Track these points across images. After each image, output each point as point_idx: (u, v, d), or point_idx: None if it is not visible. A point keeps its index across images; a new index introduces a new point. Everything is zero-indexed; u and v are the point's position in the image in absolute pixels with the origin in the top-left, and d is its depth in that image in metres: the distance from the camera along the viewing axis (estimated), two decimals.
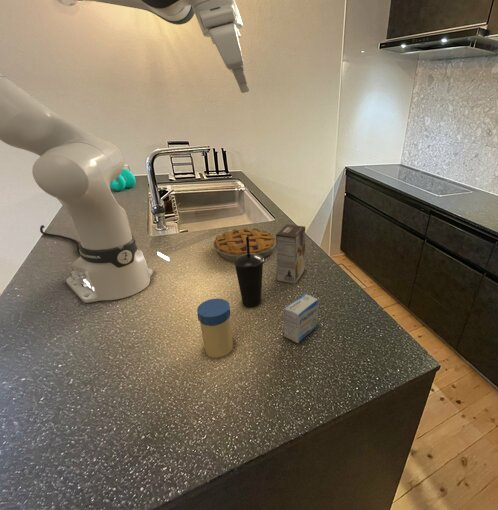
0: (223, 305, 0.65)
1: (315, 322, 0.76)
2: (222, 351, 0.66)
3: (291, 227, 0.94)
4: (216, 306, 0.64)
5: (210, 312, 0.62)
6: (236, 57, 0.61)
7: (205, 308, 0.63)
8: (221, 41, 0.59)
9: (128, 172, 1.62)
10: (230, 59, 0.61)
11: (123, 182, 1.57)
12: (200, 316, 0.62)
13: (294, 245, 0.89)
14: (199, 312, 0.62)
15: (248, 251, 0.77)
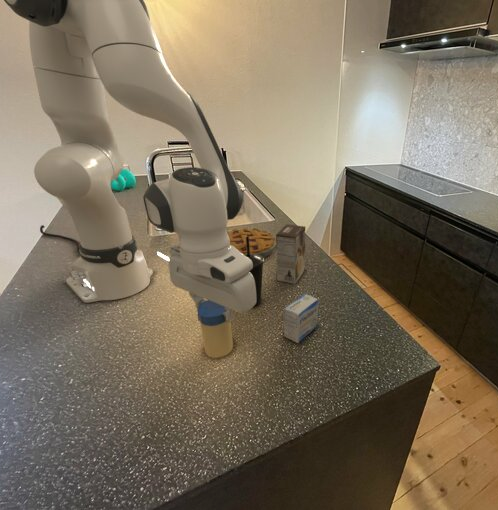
0: None
1: (315, 322, 0.76)
2: (222, 351, 0.66)
3: (291, 227, 0.94)
4: (216, 306, 0.64)
5: (210, 312, 0.62)
6: (253, 303, 0.59)
7: (205, 308, 0.63)
8: (245, 293, 0.56)
9: (128, 172, 1.62)
10: (249, 306, 0.58)
11: (123, 182, 1.57)
12: (200, 316, 0.62)
13: (294, 245, 0.89)
14: (199, 312, 0.62)
15: (248, 251, 0.77)
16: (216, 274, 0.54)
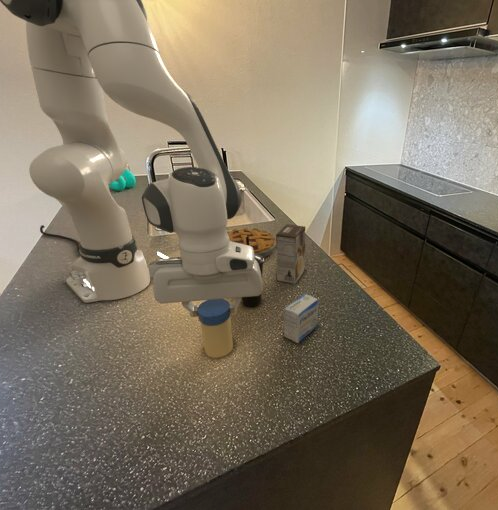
0: (220, 302, 0.65)
1: (315, 322, 0.76)
2: (222, 351, 0.66)
3: (291, 227, 0.94)
4: (215, 305, 0.64)
5: (217, 311, 0.63)
6: None
7: (207, 311, 0.63)
8: (260, 275, 0.62)
9: (128, 172, 1.62)
10: (262, 287, 0.64)
11: (123, 182, 1.57)
12: (209, 319, 0.61)
13: (294, 245, 0.89)
14: (206, 315, 0.61)
15: None
16: (236, 265, 0.57)
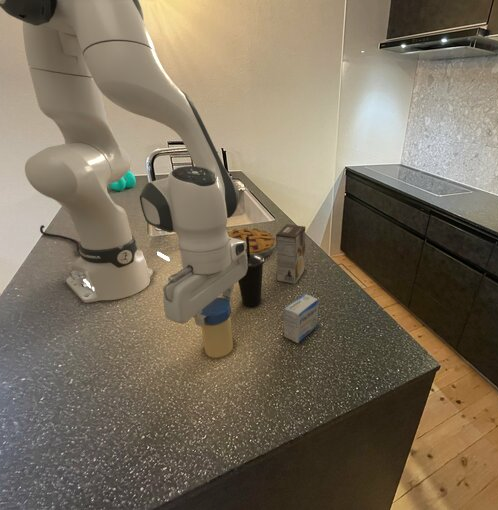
0: (212, 301, 0.65)
1: (315, 322, 0.76)
2: (222, 351, 0.66)
3: (291, 227, 0.94)
4: (213, 304, 0.64)
5: (222, 306, 0.64)
6: None
7: (215, 310, 0.63)
8: None
9: (128, 172, 1.62)
10: None
11: (123, 182, 1.57)
12: (224, 314, 0.63)
13: (294, 245, 0.89)
14: (221, 312, 0.62)
15: (248, 251, 0.77)
16: (239, 250, 0.63)
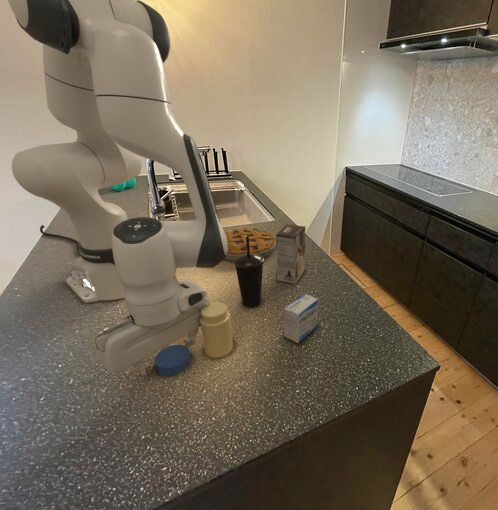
0: (174, 348, 0.65)
1: (315, 322, 0.76)
2: (222, 351, 0.66)
3: (291, 227, 0.94)
4: (172, 353, 0.64)
5: (179, 357, 0.63)
6: None
7: (170, 361, 0.62)
8: None
9: None
10: None
11: None
12: (177, 367, 0.62)
13: (294, 245, 0.89)
14: (173, 365, 0.61)
15: (248, 251, 0.77)
16: (194, 299, 0.60)
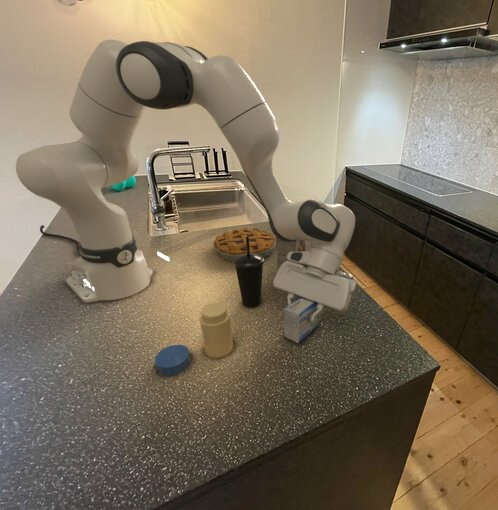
0: (174, 348, 0.65)
1: (315, 322, 0.76)
2: (222, 351, 0.66)
3: None
4: (172, 353, 0.64)
5: (179, 357, 0.63)
6: None
7: (170, 361, 0.62)
8: None
9: None
10: None
11: (123, 182, 1.57)
12: (177, 367, 0.62)
13: (294, 245, 0.89)
14: (173, 365, 0.61)
15: (248, 251, 0.77)
16: None
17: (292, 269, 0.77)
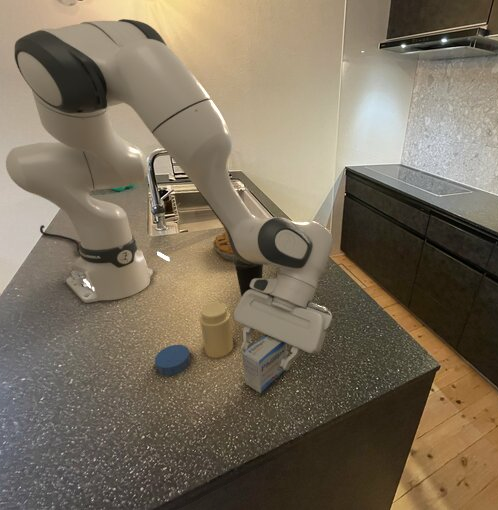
0: (174, 348, 0.65)
1: None
2: (222, 351, 0.66)
3: None
4: (172, 353, 0.64)
5: (179, 357, 0.63)
6: None
7: (170, 361, 0.62)
8: None
9: None
10: None
11: None
12: (177, 367, 0.62)
13: None
14: (173, 365, 0.61)
15: None
16: None
17: (256, 300, 0.64)
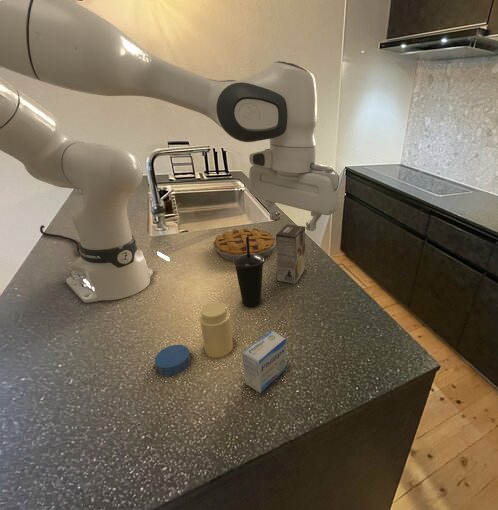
0: (174, 348, 0.65)
1: (283, 364, 0.64)
2: (222, 351, 0.66)
3: (291, 227, 0.94)
4: (172, 353, 0.64)
5: (179, 357, 0.63)
6: None
7: (170, 361, 0.62)
8: None
9: None
10: None
11: None
12: (177, 367, 0.62)
13: (294, 245, 0.89)
14: (173, 365, 0.61)
15: (248, 251, 0.77)
16: None
17: (263, 174, 0.63)
